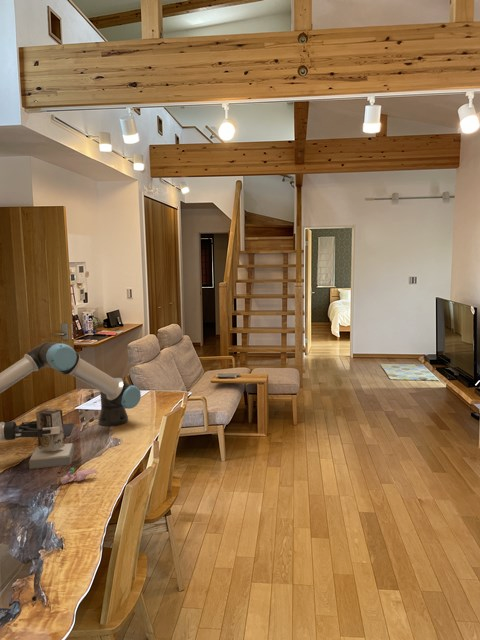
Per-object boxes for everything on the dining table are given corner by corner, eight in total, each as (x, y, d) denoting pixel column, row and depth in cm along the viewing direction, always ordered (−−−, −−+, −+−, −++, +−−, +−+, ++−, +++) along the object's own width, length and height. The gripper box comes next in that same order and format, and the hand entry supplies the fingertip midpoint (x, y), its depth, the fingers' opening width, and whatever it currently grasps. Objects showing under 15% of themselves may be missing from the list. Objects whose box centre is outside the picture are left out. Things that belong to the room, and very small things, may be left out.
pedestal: (74, 451, 228) (73, 442, 228) (70, 464, 213) (69, 455, 212) (36, 455, 225) (35, 446, 224) (29, 469, 209) (28, 459, 209)
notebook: (49, 428, 264) (42, 441, 244) (49, 425, 264) (42, 438, 243) (74, 425, 267) (70, 439, 246) (74, 422, 267) (70, 436, 246)
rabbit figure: (58, 490, 191) (98, 479, 195) (54, 475, 191) (94, 464, 194) (59, 483, 198) (98, 472, 201) (55, 469, 197) (95, 458, 200)
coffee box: (65, 446, 219) (62, 409, 217) (54, 451, 213) (51, 413, 212) (49, 443, 223) (46, 407, 221) (37, 448, 217) (35, 411, 215)
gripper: (11, 431, 225) (64, 426, 229) (-1, 449, 203) (58, 443, 207) (10, 414, 224) (63, 410, 229) (-3, 430, 202) (56, 425, 207)
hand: (61, 426), depth 218 cm, fingers closed on coffee box, 10 cm apart
